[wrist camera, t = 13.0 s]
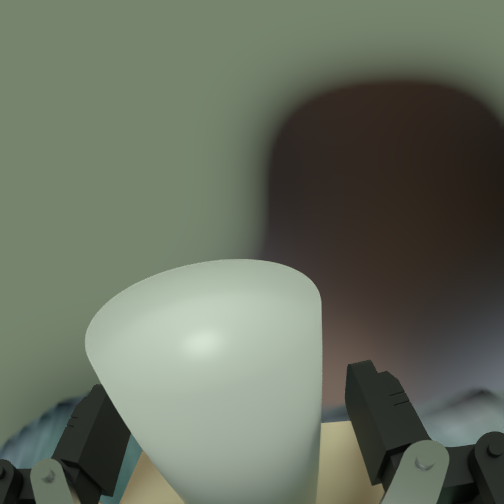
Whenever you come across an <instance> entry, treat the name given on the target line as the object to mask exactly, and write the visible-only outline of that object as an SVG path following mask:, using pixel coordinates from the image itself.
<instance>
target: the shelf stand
mask: <svg viewBox="0 0 504 504" xmlns="http://www.w3.org/2000/svg"><path fill="white" fill-rule="evenodd" d="M383 494H384V489H383V486H382V483H381V484H377V485H374V486H372V485H371V482H370V479H369V475H368V472H367V469H366V466H365V463H364V460H363V457H362V454H361V451H360V448H359V445H358V441H357V438H356V435H355V432H354V429H353V427H352V424H351V421H344V422H333V423H321V439H320V458H319V474H318V487H317V499H316V504H379V502H380V500H381V498H382V496H383ZM120 504H185V502H184V501H183V500H182V499H181V498H180V497H179V495H178V494H177V493H176V492H175V491H174V490H173V488H172V487H171V486H170V485H169V483H168V482H167V481H166V480H165V478H164V477H163V476H162V475H161V473H160V472H159V471H158V470H157V468H156V467H155V466H154V464H153V463H152V462H151V460H150V459H149V457H148V456H147V455H146V453H145V452H144V451H142V453H141V456H140V458H139V460H138V462H137V465H136V467H135V469H134V471H133V474H132V476H131V478H130V480H129V483H128V485H127V487H126V490H125V492H124V494H123V497H122V499H121V501H120Z"/></svg>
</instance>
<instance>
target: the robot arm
mask: <svg viewBox="0 0 504 504" xmlns="http://www.w3.org/2000/svg"><path fill="white" fill-rule="evenodd" d="M345 403H346V408H347V412H348V415H349V418H350V421H351V424H352V427H353V429H354V432H355V435H356V438H357V441H358V445H359V448H360V451H361V454H362V457H363V460H364V463H365V466H366V469H367V472H368V475H369V479H370V482H371V485H372V486H374V485H377V484H381V483H382V486H383V489H384V494H383V496H382V498H381V500H380V502H379V504H504V433H501V432H496V431H495V432H489V433H486V434H484V435H483V436H482V437H480V439H479V440H478V441H477V443H476V444H473V445H467V446H460V447H444V446H443V445H442V444H440V443H438V442H436V441H433V440H432V439H431V438H430V437H429V436H428V434H427V432H426V430H425V428H424V426H423V424H422V423H421V421H420V419H419V417H418V415H417V413H416V411H415V409H414V408H413V406H412V404H411V402H409V399H408V397H407V395H406V393H404V389H403V388H402V386H401V384H400V382H399V380H398V379H396V378H395V377H394V376H393V375H391V374H390V373H389V372H387V371H385V372H381V373H377V371H376V369H375V367H374V365H373V363H372V361H371V360H366V361H362V362H358V363H353V364H348V367H347V376H346V388H345ZM130 434H131V432H130V430H129V428H128V427H127V425H126V424H125V422H124V421H123V419H122V417H121V416H120V414H119V413H118V411H117V409H116V408H115V406H114V404H113V403H112V401H111V399H110V398H109V396H108V394H107V392H106V390H105V389H104V387H103V385H102V384H96V385H94V386H93V388H92V390H91V392H90V394H89V396H88V397H85V398H84V399H83V400H82V401H81V402H80V403H79V404H78V405H77V406H76V407H75V409H74V411H73V413H72V415H71V419H69V422H68V424H67V427H66V428H65V430H64V432H63V434H62V436H61V438H60V440H59V443H58V445H57V447H56V449H55V451H54V453H53V456H52V457H51V459H49V458H48V459H43V460H40V461H39V462H37V463H36V464H35V465H34V466H33V468H32V469H16V468H15V467H14V466H13V465H12V464H11V463H10V462H9V461H7V460H4V459H1V460H0V504H102V503H101V502H100V501H99V500H100V496H101V495H105V496H110V497H113V493H114V490H115V486H116V482H117V479H118V475H119V472H120V468H121V465H122V461H123V458H124V454H125V451H126V448H127V444H128V441H129V438H130Z"/></svg>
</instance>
